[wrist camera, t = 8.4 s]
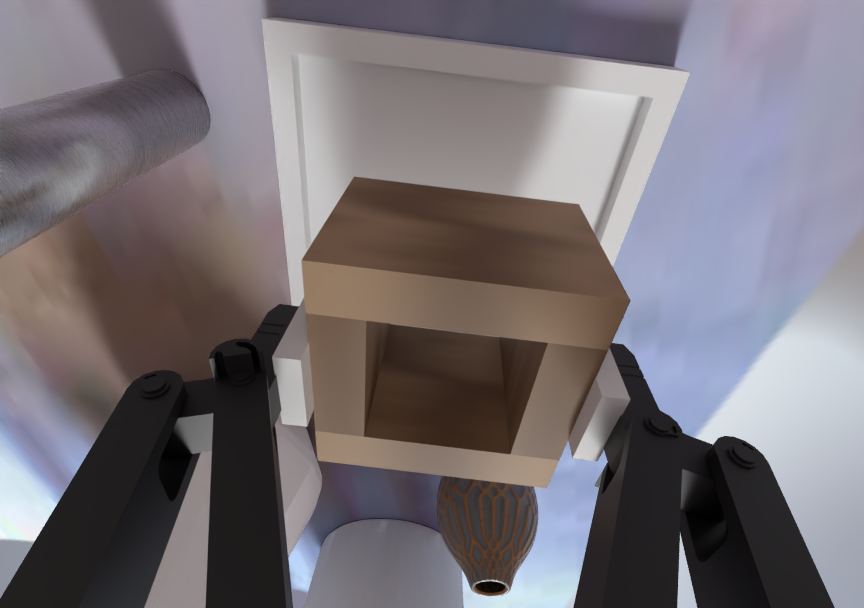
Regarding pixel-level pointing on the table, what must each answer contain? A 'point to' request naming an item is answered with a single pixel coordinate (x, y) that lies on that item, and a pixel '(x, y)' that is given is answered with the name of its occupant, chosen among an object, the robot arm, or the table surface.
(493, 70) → the tray
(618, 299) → the wooden square holder
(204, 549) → the cup
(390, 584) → the utensil holder
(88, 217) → the table surface
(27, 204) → the pin
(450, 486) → the vase
